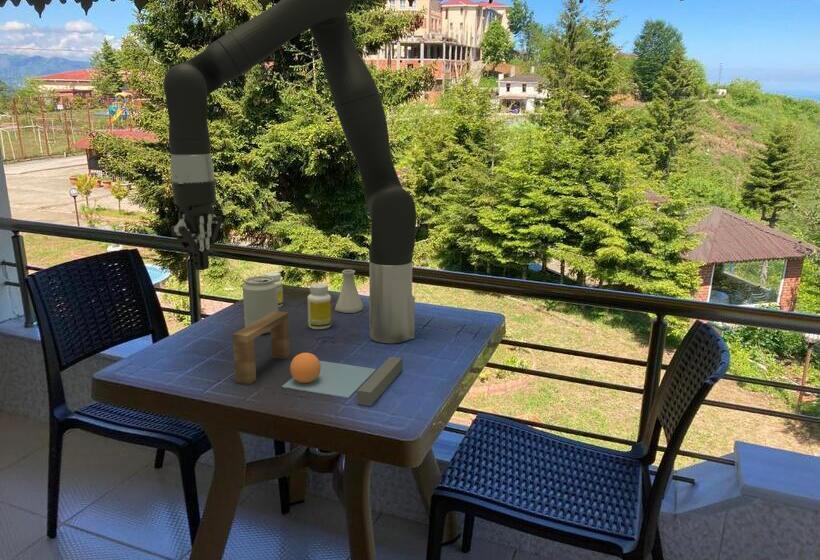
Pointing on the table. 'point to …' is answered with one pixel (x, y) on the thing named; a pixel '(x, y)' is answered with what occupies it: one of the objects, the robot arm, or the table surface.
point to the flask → (349, 295)
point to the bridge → (245, 344)
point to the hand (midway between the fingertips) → (201, 269)
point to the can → (259, 298)
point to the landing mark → (334, 380)
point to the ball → (305, 367)
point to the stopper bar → (379, 381)
